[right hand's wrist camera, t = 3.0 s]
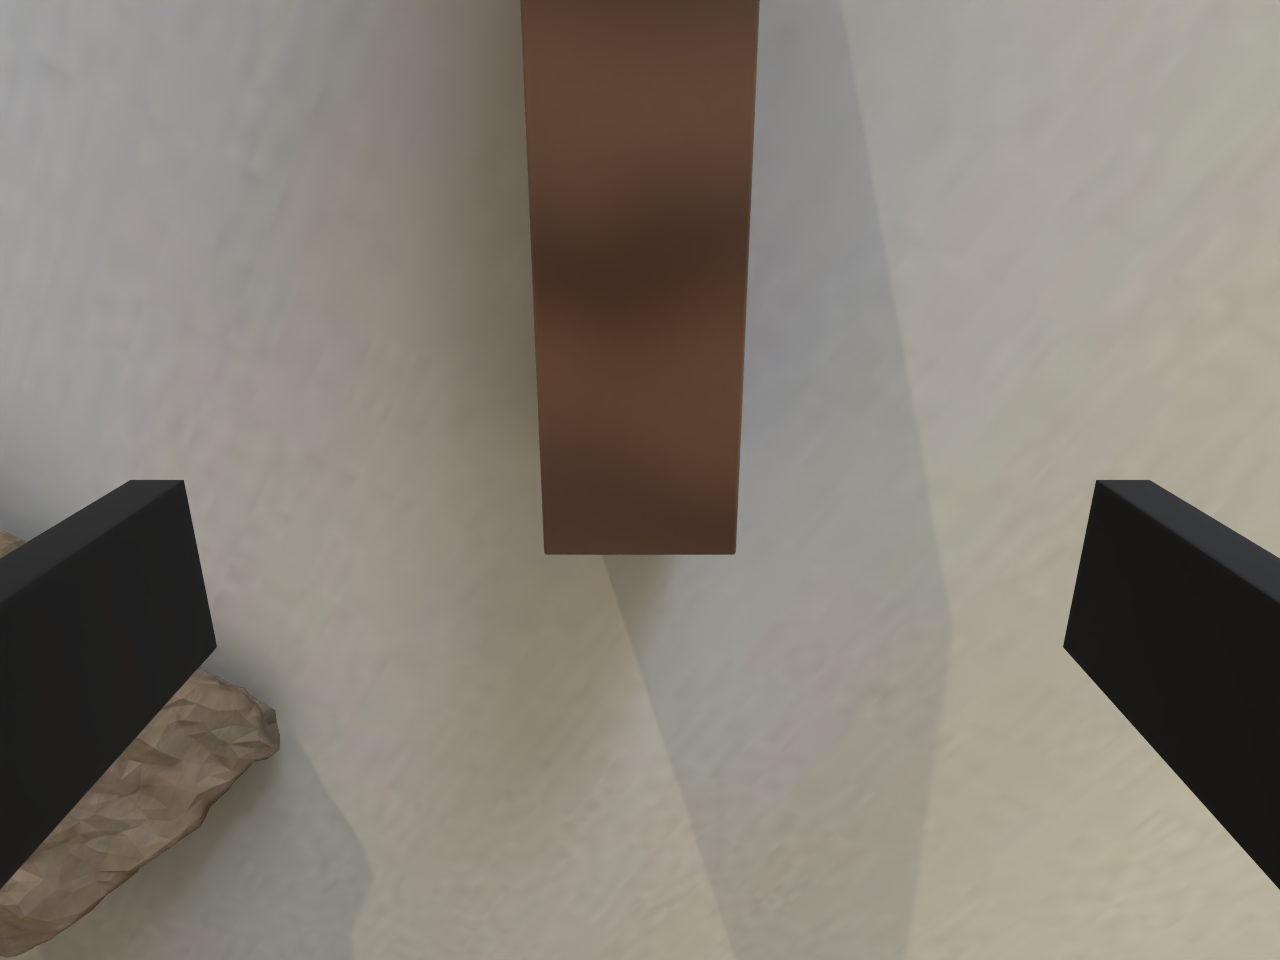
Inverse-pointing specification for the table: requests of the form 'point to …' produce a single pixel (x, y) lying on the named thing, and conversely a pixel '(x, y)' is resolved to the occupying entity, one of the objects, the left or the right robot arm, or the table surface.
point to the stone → (136, 804)
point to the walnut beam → (639, 266)
